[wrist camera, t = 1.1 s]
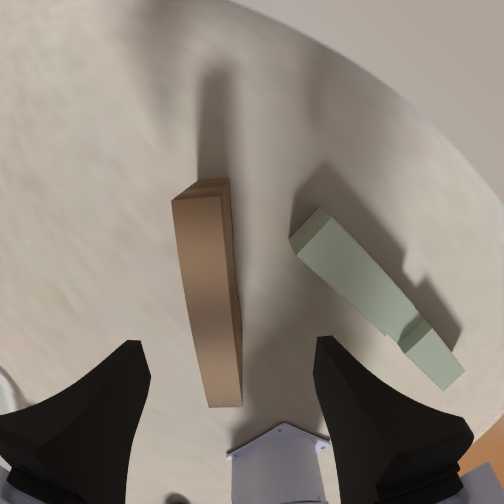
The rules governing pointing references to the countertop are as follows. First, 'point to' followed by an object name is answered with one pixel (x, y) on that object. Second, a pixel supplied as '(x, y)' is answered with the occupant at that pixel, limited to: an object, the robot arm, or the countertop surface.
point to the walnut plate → (211, 287)
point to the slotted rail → (373, 294)
